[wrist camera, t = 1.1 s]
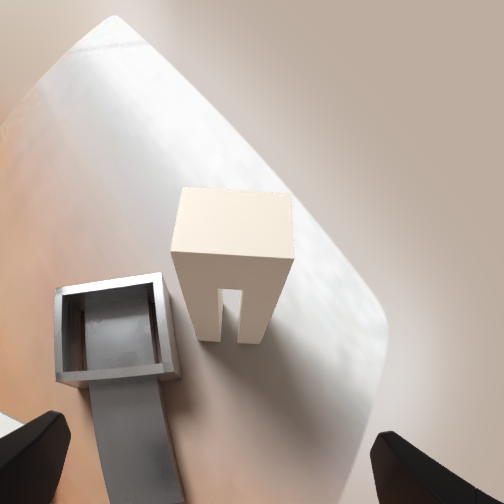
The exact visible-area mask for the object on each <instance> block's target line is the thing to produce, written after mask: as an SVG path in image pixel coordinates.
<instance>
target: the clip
mask: <svg viewBox="0 0 504 504" xmlns="http://www.w3.org/2000/svg"><path fill="white" fill-rule="evenodd" d="M170 252H171V255H172V259H173V262H174V266H175V269H176V273H177V276H178V279H179V283H180V286H181V289H182V293H183V296H184V299H185V302H186V305H187V309H188V312H189V315H190V318H191V321H192V324H193V327H194V330H195V333H196V336H197V339H198V341H211V342H221V326H222V311H223V289H234V290H241V292H240V302H239V321H238V343H245V344H260V343H261V341H262V338H263V336H264V334H265V331H266V329H267V326H268V324H269V321H270V319H271V317H272V314H273V312H274V309H275V307H276V304H277V302H278V299H279V297H280V294H281V292H282V289H283V287H284V284H285V281H286V279H287V276H288V274H289V271H290V269H291V266H292V263H293V261H294V239H293V220H292V202H291V194H286V193H273V192H260V191H246V190H230V189H212V188H191V187H183V188H182V193H181V198H180V202H179V207H178V212H177V217H176V223H175V228H174V233H173V238H172V244H171V250H170Z"/></svg>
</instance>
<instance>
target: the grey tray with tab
mask: <svg viewBox="0 0 504 504" xmlns="http://www.w3.org/2000/svg"><path fill="white" fill-rule="evenodd" d="M152 302H155V306H156V316H157V325H158V333H159V341H160V348H161V356H162V363H159V364H158V361H157V353H156V346H155V338H154V329H153V320H152V311H151V303H152ZM80 312H85V339H86V357H87V371H83V365H82V348H81V318H80ZM54 351H55V374H56V382H59V383H62V384H65V385H68V386H71V387H74V388H77V389H79V388H89V392H90V400H91V408H92V416H93V422H94V429H95V435H96V441H97V447H98V452H99V457H100V462H101V467H102V471H103V476H104V480H105V484H106V488H107V492H108V496H109V500H110V504H176V503H183V502H184V500H185V496H184V492H183V489H182V485H181V481H180V477H179V472H178V468H177V464H176V460H175V455H174V451H173V446H172V441H171V437H170V432H169V427H168V421H167V416H166V411H165V405H164V399H163V393H162V387H161V382H162V381H170V380H177V379H182V378H181V373H180V367H179V360H178V354H177V348H176V341H175V334H174V327H173V320H172V312H171V304H170V296H169V291H168V289H167V286H166V283H165V281H164V278H163V276H162V273H154V274H148V275H141V276H135V277H128V278H121V279H115V280H108V281H101V282H95V283H88V284H81V285H74V286H68V287H61V288H55V309H54Z"/></svg>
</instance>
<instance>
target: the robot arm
mask: <svg viewBox="0 0 504 504" xmlns="http://www.w3.org/2000/svg"><path fill="white" fill-rule="evenodd" d="M70 439H71V433H70V430H69V427H68V424H67V422H66V419H65V417H64V415H63V414H62V413H59V412H56V411H52V410H51V411H48V412H46V413H44V414H43V415H41V416H39V417H37V418H36V419H34V420H32V421H30V422H29V423H27V424H25V425H23V426H21V427H20V428H18V429H16V430H14V431H12V432H11V433H9V434H7V435H5V436H3V437H1V438H0V504H51V502H52V500H53V497H54V494H55V491H56V489H57V486H58V483H59V480H60V477H61V474H62V470H63V466H64V462H65V458H66V454H67V450H68V447H69V443H70ZM370 458H371V463H372V469H373V474H374V480H375V485H376V491H377V496H378V500H379V503H380V504H504V503H502V502H500V501H498V500H496V499H494V498H493V497H491V496H489V495H487V494H485V493H484V492H482V491H481V490H479V489H478V488H476V489H475V487H474V486H472V485H471V484H470V483H468V482H466V481H465V480H463V479H462V478H460V477H459V476H457V475H456V474H454V473H453V472H451V471H450V470H448V469H447V468H445V467H444V466H442V465H441V464H439V463H438V462H436V461H435V460H433V459H432V458H430V457H429V456H428V455H426V454H425V453H423V452H422V451H420V450H419V449H418V448H416V447H415V446H413V445H412V444H410V443H409V442H408V441H406V440H405V439H403V438H402V437H401V436H399V435H398V434H396V433H395V432H393V431H387V432H381V433H379V434H378V436H377V438H376V440H375V442H374V444H373V446H372V448H371V451H370Z"/></svg>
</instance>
